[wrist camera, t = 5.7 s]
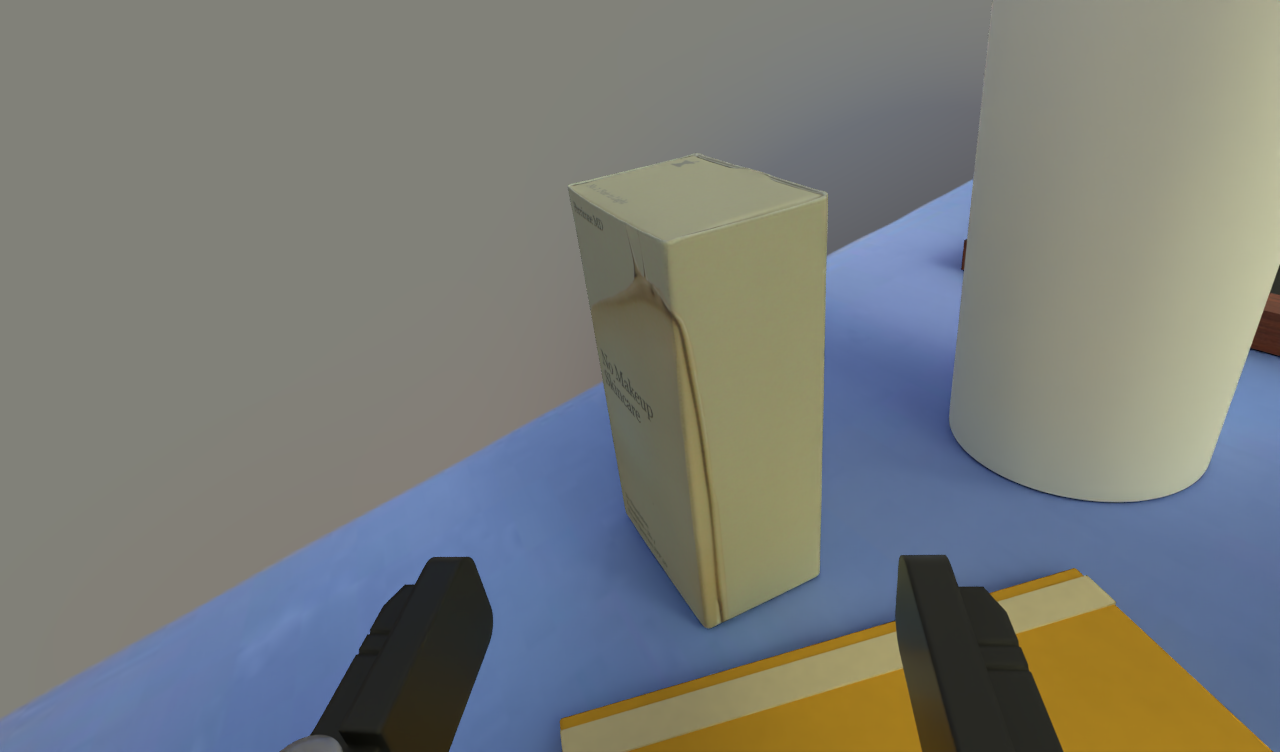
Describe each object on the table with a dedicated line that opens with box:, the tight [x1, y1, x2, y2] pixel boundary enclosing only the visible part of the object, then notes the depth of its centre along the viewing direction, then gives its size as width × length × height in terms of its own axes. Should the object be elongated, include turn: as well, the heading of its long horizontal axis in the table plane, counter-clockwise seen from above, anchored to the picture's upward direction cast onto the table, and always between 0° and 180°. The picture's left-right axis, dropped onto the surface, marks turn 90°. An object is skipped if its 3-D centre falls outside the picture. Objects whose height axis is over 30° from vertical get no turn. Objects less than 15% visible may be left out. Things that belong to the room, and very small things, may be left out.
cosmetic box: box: [568, 153, 828, 628], centre depth 20 cm, size 6×4×12 cm
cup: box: [949, 0, 1280, 502], centre depth 21 cm, size 8×8×16 cm
